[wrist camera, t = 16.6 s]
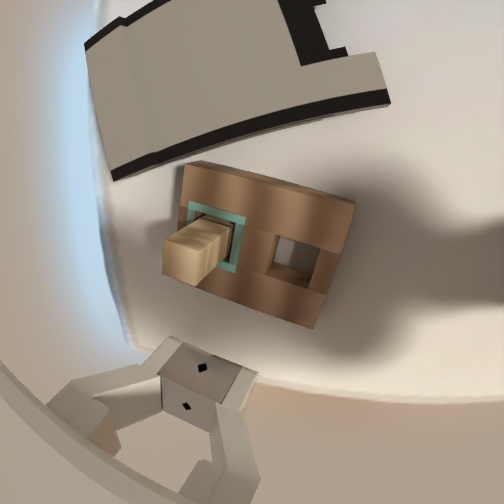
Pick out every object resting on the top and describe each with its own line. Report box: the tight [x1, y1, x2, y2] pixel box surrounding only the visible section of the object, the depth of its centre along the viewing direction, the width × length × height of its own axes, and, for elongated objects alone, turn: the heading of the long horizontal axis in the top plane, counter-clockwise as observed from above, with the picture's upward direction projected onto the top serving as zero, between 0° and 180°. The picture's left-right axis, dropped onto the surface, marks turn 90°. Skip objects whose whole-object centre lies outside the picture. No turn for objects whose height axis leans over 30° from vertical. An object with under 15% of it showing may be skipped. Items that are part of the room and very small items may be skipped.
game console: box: [84, 0, 391, 182], centre depth 28 cm, size 21×32×8 cm, turn 106°
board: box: [176, 160, 355, 329], centre depth 37 cm, size 20×16×4 cm
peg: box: [162, 214, 236, 286], centre depth 35 cm, size 4×4×12 cm
